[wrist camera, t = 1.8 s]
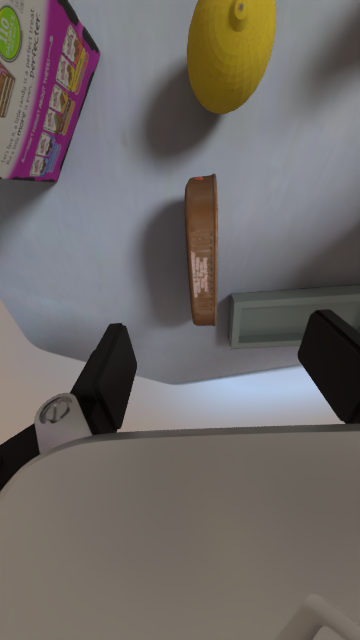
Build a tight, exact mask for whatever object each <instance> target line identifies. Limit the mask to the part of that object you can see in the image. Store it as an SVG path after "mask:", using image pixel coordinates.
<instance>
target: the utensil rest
mask: <svg viewBox="0 0 360 640" xmlns="http://www.w3.org/2000/svg"><path fill="white" fill-rule="evenodd" d="M323 309H330V310H332V311H333V312H334V313H336V314H337V315H338V316H339V317H341V318H342V319H343V320H344V321H346V322H347V323H348V324H349V325H351V326H352V327H353V328H354V329H355V330H357V331H358V332H359V333H360V285H351V286H336V287H321V288H307V289H292V290H277V291H263V292H248V293H233V294H231V301H230V318H229V335H228V339H229V343H230V346H231V349H239V348H260V347H281V346H300V345H301V342H302V339H303V336H304V332H305V329H306V326H307V323H308V320H309V317H310V315H311V314H312V313H313V312H314V311H315V310H323Z"/></svg>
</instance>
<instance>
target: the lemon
mask: <svg viewBox="0 0 360 640" xmlns="http://www.w3.org/2000/svg"><path fill="white" fill-rule="evenodd" d="M275 29H276V6H275V0H198V2H197V4H196V7H195V10H194V14H193V17H192V21H191V24H190V28H189V35H188V44H187V69H188V74H189V79H190V84H191V87H192V89H193V91H194V94H195V96H196V98H197V99H198V101H199V102H200V103H201V105H202V106H203V107H205V108H206V109H207V110H208V111H210V112H213V113H216V114H226V113H229V112H231V111H234V110H236V109H237V108H239V107H240V106H241V105H243V104H244V103H245V102H246V101H247V100H248V98H249V97H250V96H251V95H252V94H253V92H254V91H255V90H256V88H257V86H258V84H259V82H260V81H261V79H262V77H263V75H264V73H265V70H266V67H267V64H268V62H269V59H270V56H271V52H272V47H273V42H274V36H275Z"/></svg>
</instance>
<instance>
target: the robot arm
mask: <svg viewBox="0 0 360 640" xmlns="http://www.w3.org/2000/svg"><path fill="white" fill-rule="evenodd" d="M298 359H299V361H300V362H301V364H302V365H303V367H304V368H305V370H306V371H307V373H308V374H309V376H310V377H311V378H312V380H313V381H314V383H315V384H316V386H317V387H318V389H319V390H320V392H321V393H322V395H323V396H324V398H325V399H326V400H327V402H328V403H329V405H330V406H331V408H332V409H333V411H334V412H335V414H336V415H337V416H338V418H339V419H340V420H341V421H344V422H345V424H332V425H295V426H264V427H234V428H206V429H181V430H154V431H136V432H119V433H117V429H120V428H121V426H122V423H123V419H124V415H125V411H126V408H127V404H128V400H129V396H130V392H131V388H132V385H133V381H134V377H135V373H136V370H137V362H136V358H135V355H134V351H133V348H132V344H131V341H130V338H129V334H128V331H127V328H126V326H123V325H122V323H115V324H110V325H109V326H108V328H107V330H106V332H105V333H104V335H103V337H102V339H101V341H100V342H99V344H98V346H97V348H96V350H94V351H93V353H92V354H91V356H90V358H89V360H88V361H87V363H86V365H85V367H84V369H83V371H82V372H81V374H80V376H79V377H78V379H77V381H76V383H75V385H74V386H73V388H72V390H71V392H70V393H63V394H58V395H56V396H54V397H52V398H51V399H49V400H47V401H46V402H45V403H44V404H43V405H42V406H41V407H40V408H39V410H38V411H37V413H36V415H35V420H34V424H32V425H31V426H29V427H28V428H26V429H24V430H23V431H21V432H20V433H18V434H17V435H15V436H14V437H12V438H10V439H9V440H7V441H6V442H4V443H3V444H1V445H0V640H360V333H359V332H358V331H357V330H355V329H354V328H353V327H352V326H351V325H349V324H348V323H347V322H346V321H344V320H343V319H342V318H341V317H339V316H338V315H337V314H336V313H334V312H333V311H332V310H330V309H323V310H315V311H314V312H313V313H312V314H311V315H310V317H309V320H308V323H307V326H306V329H305V332H304V336H303V339H302V342H301V345H300V348H299V351H298Z"/></svg>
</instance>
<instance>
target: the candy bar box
mask: <svg viewBox="0 0 360 640" xmlns="http://www.w3.org/2000/svg"><path fill="white" fill-rule="evenodd" d="M99 56H100V50H99V49H98V47H97V45H96V44H95V42H94V40H93V39H92V37H91V36H90V34H89V33H88V31H87V30H86V28H85V27H84V25H83V24H82V22H81V20H80V19H79V17H78V16H77V14H76V13H75V11H74V10H73V8H72V6H71V5H70V4H69V2H68V0H0V179H9V180H11V179H12V180H28V181H44V182H57V180H58V177H59V174H60V171H61V168H62V165H63V162H64V159H65V156H66V153H67V150H68V147H69V144H70V141H71V138H72V135H73V132H74V129H75V126H76V123H77V120H78V118H79V115H80V112H81V109H82V106H83V103H84V100H85V97H86V94H87V91H88V89H89V86H90V83H91V80H92V77H93V74H94V71H95V68H96V65H97V62H98V59H99Z"/></svg>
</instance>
